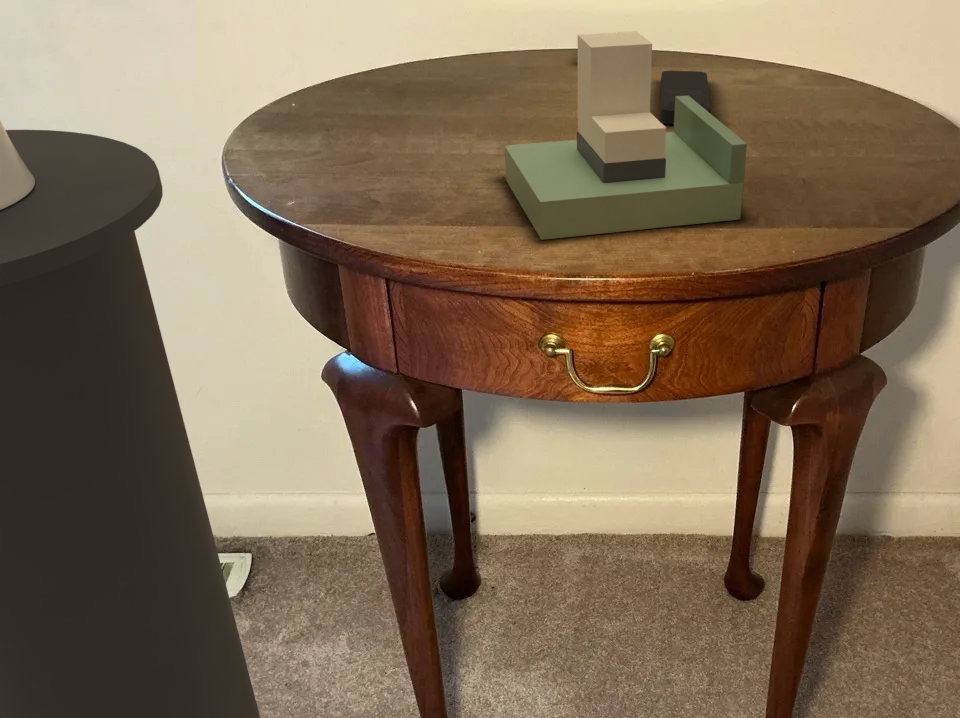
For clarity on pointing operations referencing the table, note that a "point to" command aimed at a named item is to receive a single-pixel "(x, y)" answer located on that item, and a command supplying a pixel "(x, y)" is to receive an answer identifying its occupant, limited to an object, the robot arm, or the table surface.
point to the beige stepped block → (618, 108)
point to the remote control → (682, 91)
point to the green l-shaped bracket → (632, 182)
